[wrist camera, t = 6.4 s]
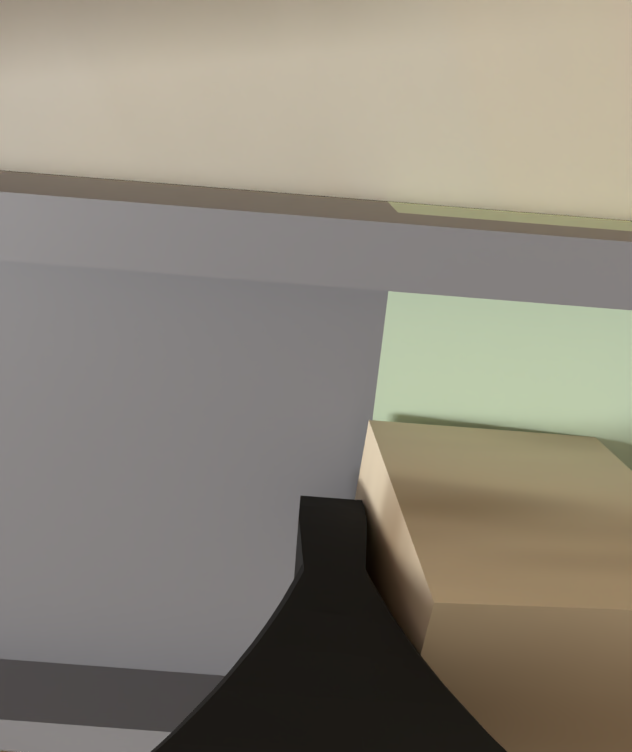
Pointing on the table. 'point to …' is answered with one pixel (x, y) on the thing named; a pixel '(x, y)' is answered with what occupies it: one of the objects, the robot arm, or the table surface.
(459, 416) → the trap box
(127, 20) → the table surface
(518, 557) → the block
